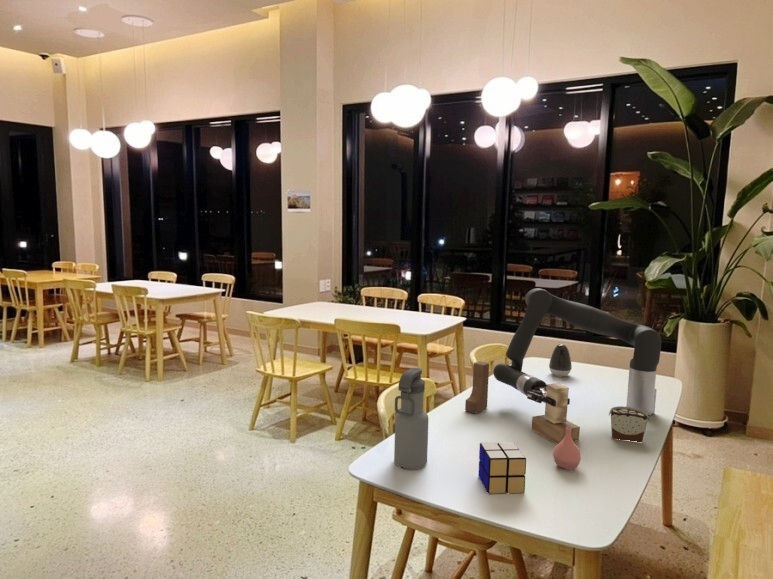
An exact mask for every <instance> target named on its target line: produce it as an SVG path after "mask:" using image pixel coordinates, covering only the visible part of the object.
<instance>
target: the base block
mask: <svg viewBox="0 0 773 579" xmlns="http://www.w3.org/2000/svg"><path fill="white" fill-rule="evenodd" d="M567 427H569V428H571V438H572V440H573V442H577V441H580V428H581V427H580V426H579V425H577V424H575V423H573V422H570V421H569V420H568V419H566V422H563V423H555V424H554V423H552V422H550V421H549V420H547V419H545V414H541V415H534V416H532V417H531V431H532V432H535V433H537V434H538V435H541V436H542V437H544V438H545V439H547V440H549V441H551V442H553V443H555V444H556V445H557V444H559V443H560V442H561V441H562V440H563V438H564V437H565V435H566V428H567Z"/></svg>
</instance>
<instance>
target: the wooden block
mask: <svg viewBox="0 0 773 579" xmlns="http://www.w3.org/2000/svg"><path fill="white" fill-rule="evenodd" d="M472 368H473V370H472V371H473V372H472V389H471V393H470V395H469V397H468V398H466V399H465V409H464V410H466V412H468V411H469V412H468V413H471V412H473V413H472V414H474V413H475V414H477V413H479V412H481V410H482V411H483V409H484V410H486V409H487V408H488V396H489V395H488V394H489V374H490V373H489V372H490V370H489V369H490V363H489V362H485V361H481V360H480V361H477V362H474V363H473V367H472ZM485 408H486V409H485Z"/></svg>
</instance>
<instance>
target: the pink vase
mask: <svg viewBox="0 0 773 579" xmlns="http://www.w3.org/2000/svg"><path fill="white" fill-rule="evenodd" d="M552 456H553V460H554V463H555V465H557V466H558V467H561V468H562V469H565V470H570V469H575V468H578V466H579V465H580V462H581V459H582V456H581V450H580V449H579V448H578V446H577V445H576V444H575V441H573V440H572V438H571V428H569V427H567V428H566V435H565V437H564V438H563V440H562V441H561V442H560V443H559V444H556V445H555V446H554V449H553V453H552Z"/></svg>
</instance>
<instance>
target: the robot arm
mask: <svg viewBox="0 0 773 579" xmlns="http://www.w3.org/2000/svg"><path fill="white" fill-rule="evenodd" d="M524 298H525V299H524V300H525V304H526V310H525V314H524V316H523V318H522V321H521V323H520V325H519V326H518V328H517V329H516V331H515V333H514V335H513V336H512V338H511V340H510V343H509V345H508V347H507V350H506V352H505V356H506V358H508V359H509V360H510V361H511V364H506V363H497V364H496V365H495V366H494V368H493V372H492V373H493V376H494V378H495V380H496V381H498V382H500V383H502V384H505V385H508V386H511V387H512V388H514V389H515V390H516V391H519V392H520V393H521V394H523V395H524V396H526V398H527V399H528V400H531V401H533V402H535V403H539V404H542V403H544V404H546V403H548V404H550V405H551V406H556V400H554V399H552V398H551V397H548V396H547V395H546V390H547V384H548V383H547V382H545V381H544V380H542V379H540V378H537V377H535V376H534V375H531V374H528V373H526V372H524V371H523V370H522V369H523V364H524V360H525V356H526V354H527V352H528V350H529V347H530V345H531V342H532V340H533V338H534V336H535V333H536V331H537V329H538V327H539V325H540V324H541V322H542V320H543V318H544V317H545V315H546V314H547V315H551V316H554V317H557V318H559V319H560V320H563V321H565V322H566V323H568V324H571V325H572V326H574V327H577V328H580V329H582V330H584V331H587V332H590V333H593V334H597V335H601V336H607V337H612V338H616V339H619V340H621V341H622V342H626V343H628V344H629V345H631V346H633V347H634V349H633V356H632V358H631V359H630V362H629V367H628V368H629V369H628V384H627V392H626V394H627V395H626V406H625V407H631V408H636V409H639V410H642V411H644V412H646V413H647V414H648V415H650V416H652V415H653V414H655V413H656V411H655V410H656V401H657V388H656V377H657V368H658V365H659V363H660V359H661V348H662V337H661V335H660V334H659V332H658V331H656V330H654V329H653V328H651V327H650V326H646V325H642V324H637V323H635V322H629V321H626V320H623V319H620V318H619V317H617V316H615V315H613V314H610V313H608V312H606V311H604V310H602V309H599V308H596V307H594V306H591V305H587V304H584V303H580V302H576V301H572V300H567V299H564V298H561V297H558V296H556V295H554V294H552V293H550V292H549V291H547V290H546V289H543V288H541V287H540V288H538V287H537V288H532V289H531V290H529V291H528V292H527V293H526V294H525V297H524ZM570 400H571V399H570V398H569V397H568V403H567V406H569V405H570V404H571V402H570ZM654 412H655V413H654ZM652 413H653V414H652ZM651 414H652V415H651Z"/></svg>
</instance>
